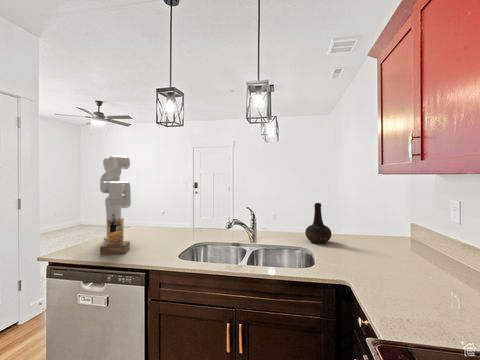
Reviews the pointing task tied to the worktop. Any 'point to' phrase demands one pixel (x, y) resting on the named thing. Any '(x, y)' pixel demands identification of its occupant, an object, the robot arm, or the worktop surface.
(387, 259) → the worktop surface
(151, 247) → the worktop surface
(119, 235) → the candy box
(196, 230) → the worktop surface
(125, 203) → the robot arm
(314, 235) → the glass bottle
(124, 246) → the walnut block
